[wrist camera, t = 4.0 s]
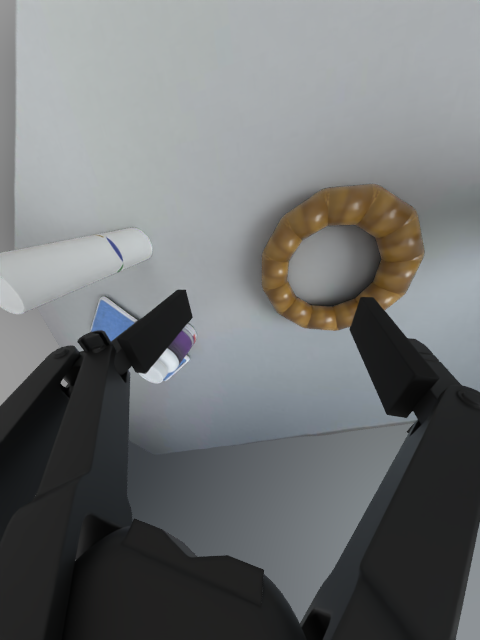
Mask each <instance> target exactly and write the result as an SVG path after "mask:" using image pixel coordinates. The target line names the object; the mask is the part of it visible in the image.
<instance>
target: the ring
mask: <svg viewBox="0 0 480 640" xmlns="http://www.w3.org/2000/svg"><path fill="white" fill-rule="evenodd" d="M337 225H356V226H358V227H359V228H361V229H363V230H364V231H366V232H367V233H369V234H371V235H372V236H374V237H375V238H376V242H377V245H378V249H379V252H380V255H381V261H380V264H379V267H378V270H377V273H376V275H375V278H374V281H373V282H372V283H371V284H370V285H369V286H368V287H367V288H366V289H364V290H363V291H362V292H361V293H360V294H359V295H358V296H357V297H356V298H354V299H352V300H349V301H346V302H344V303H341V304H338V305H335V306H314V305H310V304H308V303H307V302H305V301H303V300H301V299H300V298H298V297H296V296H295V294H294V292H293V291H292V289H291V287H290V285H289V283H288V281H287V277H288V264H289V260H290V258H291V257H292V255H293V254H294V252H295V251H296V249H297V248H298V246H299V245H300V243H301V242H302V240H304V239H305V238H307V237H309V236H311V235H312V234H314V233H316V232H317V231H319V230H321V229H323V228H324V227H326V226H337ZM423 257H424V245H423V240H422V235H421V229H420V224H419V219H418V214H417V212H416V210H415V209H414V208H413V207H412V206H410V205H409V204H407V203H406V202H404V201H403V200H401V199H400V198H398V197H397V196H395V195H393V194H392V193H390V192H389V191H387V190H386V189H384V188H383V187H381V186H379V185H376V184H365V185H353V186H342V187H331V188H325V189H322V190H321V191H319V192H317V193H316V194H315V195H313V196H312V197H310V198H309V199H307V200H306V201H304V202H303V203H301V204H300V205H298V206H297V207H295V208H294V209H293V210H291V211H290V212H288V213H287V214H285V215H284V216H283V217H282V218H281V220H280V221H279V223H278V225H277V227H276V229H275V230H274V232H273V234H272V236H271V238H270V239H269V241H268V243H267V245H266V247H265V249H264V250H263V253H262V288H263V290H264V292H265V294H266V295H267V297H268V299H269V300H270V302H271V303H272V305H273V307H274V308H275V310H276V312H277V313H278V314H280V315H281V316H283V317H285V318H287V319H288V320H290V321H292V322H294V323H296V324H297V325H299V326H301V327H303V328H309V329H321V330H333V331H336V330H341V329H344V328H347V327H351V324H352V321H353V318H354V315H355V312H356V309H357V306H358V303H359V300H360V297H374V298H375V300H376V301H377V302H378V303H379V305H380V306H381V307H382V308H383V309H384V310H386V309H387V308H388V307H390V306H391V305H392V304H393V303H395V302H396V301H397V300H398V299H400V298H401V297H402V296H403V295H404V294H405V293H406V292H407V290H408V288H409V286H410V284H411V282H412V280H413V278H414V276H415V273H416V271H417V269H418V267H419V265H420V263H421V261H422V259H423Z"/></svg>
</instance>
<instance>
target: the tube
mask: <svg viewBox="0 0 480 640" xmlns="http://www.w3.org/2000/svg"><path fill="white" fill-rule="evenodd" d="M151 255H152V245H151V242H150V240H149V238H148V237H147V235H146V234H145V233H144V232H143V231H141V230H140V229H137V228H126V229H121V230H116V231H111V232H106V233H100V234H95V235H90V236H85V237H79V238H74V239H69V240H64V241H59V242H53V243H48V244H43V245H38V246H32V247H27V248H22V249H17V250H12V251H6V252H1V253H0V307H1V308H3V309H5V310H6V311H8V312H11V313H14V314H22V313H25V312H27V311H29V310H32V309H34V308H36V307H39V306H41V305H43V304H46V303H48V302H50V301H53V300H55V299H57V298H59V297H62V296H64V295H66V294H69V293H71V292H73V291H76V290H78V289H80V288H83V287H85V286H87V285H90V284H92V283H94V282H97V281H99V280H101V279H104V278H106V277H108V276H110V275H113V274H115V273H117V272H120V271H122V270H124V269H127V268H129V267H131V266H134V265H136V264H138V263H141V262H143V261H145V260H148V259H149V258H150V257H151Z"/></svg>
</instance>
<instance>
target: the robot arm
mask: <svg viewBox="0 0 480 640" xmlns="http://www.w3.org/2000/svg"><path fill="white" fill-rule="evenodd" d="M192 318H193V317H192V313H191V309H190V305H189V301H188V297H187V293H186V290H177V291H175V292H174V293H173V294H172V295H170V296H169V297H168V298H167V299H165V300H164V301H163V302H162V303H160V304H159V305H158V306H157V307H156V308H154V309H153V310H152V311H151V312H149V313H148V314H147V315H146V316H144V317H143V318H142V319H140V320H138V321H136V322H135V323H134V324H132V325H131V326H130V327H129V328H127V330H125V331H124V332H122V333H121V334H120V335H119V336H117V337H116V338H115V339H114V340H112V341H110V339H109V337H108V336H107V334H106V333H105V331H103V330H97V331H93V332H90V333H87V334H86V335H84V336H82V337H81V338H79V340H78V341H77V342H78V343H79V344H80V346H81V347H82V348H83V350H84V351H81V352H79V351H78V350H77V349H76V347H75V346H66V347H61V348H59V349H57V350H56V351H54V352H52V353H51V354H50V355H49V356H48V357H47V358H46V359H45V360H44V361H43V362H42V363H41V364H40V365H39V366H38V367H37V368H36V369H35V370H34V371H33V372H32V373H31V374H30V376H28V378H27V379H26V380H25V381H24V382H23V383H22V384H21V385H20V386H19V387H18V388H17V389H16V390H15V391H14V392H13V393H12V394H11V395H10V396H9V397H8V399H7V400H6V401H5V402H4V403H3V404H2V405H1V406H0V640H456V634H457V630H458V625H459V620H460V615H461V610H462V606H463V601H464V596H465V591H466V586H467V581H468V576H469V571H470V567H471V561H472V557H473V552H474V547H475V542H476V537H477V532H478V528H479V522H480V392H478V391H477V390H474V389H472V388H469V387H466V386H462V385H461V384H460V383H459V382H458V381H457V380H456V379H455V378H454V376H453V375H452V374H451V373H450V372H449V371H448V370H447V369H446V368H445V366H444V365H443V364H442V363H441V362H439V360H438V359H437V358H436V357H435V355H433V353H432V352H431V351H430V350H429V349H428V348H427V347H426V346H425V345H424V344H422V343H421V342H419V341H418V340H416V339H409V338H407V337H406V336H405V335H404V334H403V333H402V331H401V330H400V329H399V328H398V326H397V325H396V324H395V323H394V322H393V320H392V319H391V318H390V317H389V315H388V314H387V313H386V312H385V311H384V309H383V308H382V307H381V306H380V305H379V303H378V302H377V301H376V300H375V298H374V297H360V300H359V303H358V306H357V309H356V312H355V315H354V318H353V321H352V324H351V327H350V332H351V334H352V336H353V339H354V341H355V343H356V345H357V348H358V350H359V352H360V355H361V357H362V359H363V361H364V364H365V366H366V368H367V370H368V373H369V375H370V377H371V380H372V382H373V384H374V386H375V389H376V391H377V393H378V396H379V398H380V400H381V402H382V405H383V407H384V409H385V412H386V414H387V415H392V416H398V417H404V418H407V417H408V416H409V414H410V413H411V412H412V411H414V413H415V415H416V417H417V418H418V420H417V421H416V422H415V423H414V424H413V425H412V426H411V427H410V429H409V430H408V431H407V432H408V433H409V434H408V436H407V437H406V439H405V441H404V443H403V445H402V446H401V448H400V450H399V452H398V454H397V455H396V457H395V459H394V461H393V463H392V465H391V466H390V468H389V470H388V472H387V474H386V475H385V477H384V479H383V481H382V483H381V484H380V486H379V488H378V490H377V492H376V494H375V495H374V497H373V499H372V501H371V503H370V504H369V506H368V508H367V510H366V512H365V513H364V515H363V517H362V519H361V521H360V522H359V524H358V526H357V528H356V530H355V532H354V534H353V535H352V537H351V539H350V541H349V542H348V544H347V546H346V548H345V550H344V552H343V553H342V555H341V557H340V559H339V561H338V562H337V564H336V566H335V568H334V569H333V571H332V573H331V574H330V575H329V576H328V578H327V579H326V580H325V582H324V583H323V585H322V586H321V587H320V589H319V591H318V592H317V594H316V596H315V598H314V599H313V601H312V603H311V605H310V607H309V608H308V610H307V612H306V614H305V616H304V617H303V619H302V621H301V623H299V622H298V619H297V617H296V616H295V614H294V612H293V611H292V608H291V606H290V605H289V603H288V602H287V600H286V599H285V598H284V596H283V594H282V593H281V591H280V590H279V589H278V588H277V587H276V586H275V584H274V583H273V582H272V581H271V580H270V579H269V578H268V577H266V576H265V575H264V570H263V569H261V568H258V567H255V566H253V565H250V564H248V563H245V562H243V561H240V560H238V559H235V558H233V557H230V556H208V557H197V556H196V555H195V554H194V553H193V552H192V551H191V550H190V549H189V548H188V547H187V546H186V545H185V544H184V543H183V542H182V541H180V540H179V539H177V538H175V537H174V536H172V535H170V534H169V533H167V532H165V531H164V530H162V529H160V528H157V527H155V526H152V525H150V524H147V523H145V522H142V521H139V520H137V519H134V520H133V522H132V512H131V507H130V504H129V501H128V497H127V469H128V434H129V397H130V372H129V370H128V369H129V368H130V367H131V366H132V367H133V368H134V370H135V372H137V373H143V374H146V373H147V372H148V371H149V370H150V368H151V367H152V366H153V365H154V363H155V362H156V361H157V360H158V359H159V357H160V356H161V355H162V354H163V353H164V351H165V350H166V349H167V348H168V347H169V345H170V344H171V343H172V342H173V341H174V339H175V338H176V337H177V336H178V334H179V333H180V332H181V331H182V330H183V328H184V327H185V326H186V325H187V324H188V322H189V321H190V320H191V319H192ZM62 379H64V380H65V381H66V382H67V383H68V385H67V386H66V387H63V386H62V385H61V384H60V383H61V381H62ZM36 493H37V494H36ZM35 495H36V496H35ZM75 560H76V561H75ZM263 577H264V579H263ZM262 590H263V592H262Z"/></svg>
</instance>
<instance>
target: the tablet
mask: <svg viewBox="0 0 480 640" xmlns="http://www.w3.org/2000/svg"><path fill="white" fill-rule="evenodd" d="M136 321H138V320H136V319H135V318H134V317H132V316H131V315H129V314H128V313H127V312H125V311H124V310H123V309H121V308H120V307H119V306H117V305H116V304H115V303H113V302H112V301H111V300H109V299H108V298H107V297H105V296H103V297H101V298H100V299H99V303H98V306H97V309H96V313H95V316H94V320H93V323H92V326H91V332H93V331H97V330H103V331H105V333H106V334H107V336H108V337H109V339H110V341H112V340H114V339H115V338H116V337H117V336H119V335H120V334H121V333H122V332H124V331H125V330H127V328H129V327H130V326H131V325H132V324H134V323H135V322H136ZM189 360H190V358H189V356H187V355H186V356H185V357H184V359H183V360H182V362H181V363H180V365H179V366H178V367H177V369H176V370H175V371H173V372H170V373H168V374H167V375H166V377H165V378H164V379H163V380H164V381H167V380H168V379H169V378H170V377H171V376H172V375H174V374H175V373H176V372H177V371H178V370H179V369H180V368H182V367H183V366H184V365H185V364H186V363H187V362H188V361H189Z"/></svg>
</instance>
